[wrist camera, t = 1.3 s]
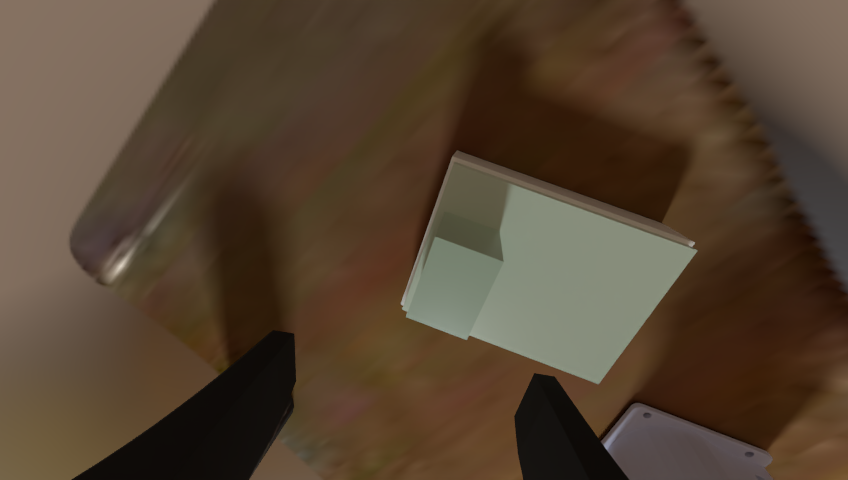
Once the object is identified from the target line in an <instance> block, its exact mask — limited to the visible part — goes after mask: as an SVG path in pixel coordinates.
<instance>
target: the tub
mask: <svg viewBox="0 0 848 480" xmlns="http://www.w3.org/2000/svg"><path fill="white" fill-rule="evenodd" d="M454 162H458V163H461V164H463V165H466V166H469V167H472V168H475V169H477V170H480V171H483V172H486V173H489V174H491V175H494V176H497V177H500V178H503V179H505V180H508V181H511V182H514V183H517V184H519V185H522V186H525V187H528V188H531V189H533V190H536V191H539V192H542V193H545V194H547V195H550V196H553V197H556V198H559V199H561V200H564V201H567V202H570V203H573V204H575V205H578V206H581V207H584V208H587V209H589V210H592V211H595V212H598V213H600V214H603V215H606V216H609V217H612V218H614V219H617V220H620V221H623V222H626V223H628V224H631V225H634V226H637V227H640V228H642V229H645V230H648V231H651V232H654V233H656V234H659V235H662V236H665V237H668V238H670V239H673V240H676V241H679V242H682V243H684V244H687V245H689V246H691V247H693V245H694V244H695V242H693V241H692V240H690V239H688V238H687V237H685V236H683V235H681V234H680V233H678V232H676V231H675V230H673V229H671V228H670V227H668V226H666V225H664V224H663V223H660V222H658V221H655V220H652V219H649V218H646V217H644V216H641V215H638V214H635V213H632V212H629V211H627V210H624V209H621V208H618V207H615V206H613V205H610V204H607V203H604V202H601V201H599V200H596V199H593V198H590V197H587V196H584V195H582V194H579V193H576V192H573V191H570V190H568V189H565V188H562V187H559V186H556V185H554V184H551V183H548V182H545V181H542V180H539V179H537V178H534V177H531V176H528V175H525V174H523V173H520V172H517V171H514V170H511V169H509V168H506V167H503V166H500V165H497V164H495V163H492V162H489V161H486V160H483V159H480V158H478V157H475V156H472V155H469V154H466V153H464V152H461V151H458V150H457V151H456V152H455V153H454V155H453V156H452V158H451V161H450V164H449V167H448V170H447V173H446V176H445V179H444V181H443V184H442V187H441V190H440V193H439V196H438V199H437V202H436V204H435V207H434V210H433V213H432V216H431V219H430V222H429V224H428V227H427V230H426V233H425V236H424V239H423V242H422V245H421V247H420V250H419V253H418V256H417V259H416V262H415V265H414V267H413V270H412V273H411V276H410V279H409V282H408V285H407V288H406V290H405V293H404V296H403V299H402V302H401V305H404V302H405V299H406V297H407V294H408V291H409V288H410V285H411V283H412V280H413V277H414V274H415V271H416V268H417V266H418V263H419V260H420V257H421V254H422V251H423V249H424V246H425V243H426V240H427V237H428V234H429V232H430V229H431V226H432V223H433V220H434V217H435V215H436V212H437V209H438V206H439V203H440V200H441V198H442V195H443V192H444V189H445V186H446V184H447V181H448V178H449V175H450V172H451V169H452V167H453V164H454Z"/></svg>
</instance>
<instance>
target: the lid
mask: <svg viewBox="0 0 848 480" xmlns="http://www.w3.org/2000/svg"><path fill="white" fill-rule="evenodd" d="M696 252H697V250H696V249H694V248H693V247H691V246H689V245H687V244H684V243H682V242H679V241H676V240H673V239H670V238H668V237H665V236H662V235H659V234H656V233H654V232H651V231H648V230H645V229H642V228H640V227H637V226H634V225H631V224H628V223H626V222H623V221H620V220H617V219H614V218H612V217H609V216H606V215H603V214H600V213H598V212H595V211H592V210H589V209H587V208H584V207H581V206H578V205H575V204H573V203H570V202H567V201H564V200H561V199H559V198H556V197H553V196H550V195H547V194H545V193H542V192H539V191H536V190H533V189H531V188H528V187H525V186H522V185H519V184H517V183H514V182H511V181H508V180H505V179H503V178H500V177H497V176H494V175H491V174H489V173H486V172H483V171H480V170H477V169H475V168H472V167H469V166H466V165H463V164H461V163H458V162H454V164H453V167H452V169H451V172H450V175H449V178H448V181H447V184H446V186H445V189H444V192H443V195H442V198H441V200H440V203H439V206H438V209H437V212H436V215H435V217H434V220H433V223H432V226H431V229H430V232H429V234H428V237H427V240H426V243H425V246H424V249H423V251H422V254H421V257H420V260H419V263H418V266H417V268H416V271H415V274H414V277H413V280H412V283H411V285H410V288H409V291H408V294H407V297H406V299H405V302H404V305H403V308H402V310H404V311H407V312H408V313H407V315H406V317H407V318H410V319H413V320H415V321H418V322H420V323H423V324H426V325H428V326H431V327H434V328H436V329H439V330H441V331H444V332H447V333H449V334H452V335H455V336H457V337H460V338H462V339H465V340H467V338H468V336H469V335H470V336H473V337H475V338H478V339H481V340H483V341H486V342H489V343H491V344H494V345H497V346H499V347H502V348H504V349H507V350H510V351H512V352H515V353H518V354H520V355H523V356H525V357H528V358H531V359H533V360H536V361H539V362H541V363H544V364H547V365H549V366H552V367H554V368H557V369H560V370H562V371H565V372H568V373H570V374H573V375H575V376H578V377H581V378H583V379H586V380H589V381H591V382H594V383H597V384H599V383H600V382H601V380H602V379H603V377H604V376H605V375H606V373H607V372H608V371H609V369H610V368H611V367H612V365H613V364H614V363H615V361H616V360H617V359H618V357H619V356H620V355H621V353H622V352H623V351H624V349H625V348H626V347H627V345H628V344H629V342H630V341H631V340H632V338H633V337H634V336H635V334H636V333H637V332H638V330H639V329H640V328H641V326H642V325H643V324H644V322H645V321H646V320H647V318H648V317H649V316H650V314H651V313H652V311H653V310H654V309H655V307H656V306H657V305H658V303H659V302H660V301H661V299H662V298H663V297H664V295H665V294H666V293H667V291H668V290H669V289H670V287H671V286H672V285H673V283H674V282H675V281H676V279H677V278H678V276H679V275H680V274H681V272H682V271H683V270H684V268H685V267H686V266H687V264H688V263H689V262H690V260H691V259H692V258H693V256H694V255H695V254H696Z"/></svg>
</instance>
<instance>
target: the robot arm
mask: <svg viewBox="0 0 848 480" xmlns="http://www.w3.org/2000/svg"><path fill="white" fill-rule="evenodd" d="M295 382H296V369H295V342H294V334H293V333H287V332H280V331H274V330H273V331H272V332H270V333H269V334H268V335H267V336H266V337H264V338H263V339H262V340H261V341H260V342H259V343H257V344H256V345H255V346H254V347H253V348H252V349H250V350H249V351H248V352H247V353H246V354H245V355H243V356H242V357H241V358H240V359H239V360H237V361H236V362H235V363H234V364H233V365H231V366H230V367H229V368H228V369H227V370H225V371H224V372H223V373H222V374H220V375H219V376H218V377H217V378H216V379H214V380H213V381H212V382H210V383H209V384H208V385H207V386H205V387H204V388H203V389H202V390H200V391H199V392H198V393H196V394H195V395H194V396H193V397H191V398H190V399H188V400H187V401H186V402H184V403H183V404H182V405H181V406H179V407H178V408H176V409H175V410H174V411H172V412H171V413H170V414H168V415H167V416H166V417H164V418H163V419H162V420H160V421H159V422H158V423H156V424H155V425H154V426H152V427H151V428H149V429H148V430H146V431H145V432H143V433H142V434H141V435H139V436H138V437H136V438H135V439H133V440H132V441H130V442H129V443H127V444H126V445H124V446H123V447H121V448H120V449H118V450H117V451H115V452H114V453H112V454H111V455H109V456H108V457H107V458H105V459H103V460H102V461H100V462H99V463H97V464H96V465H94V466H92V467H91V468H89V469H88V470H86V471H84V472H83V473H81V474H80V475H78V476H76V477H75V478H74V479H72V480H249V478H250V476H251V475H252V473H253V471H254V469H255V467H256V465H257V463H258V461H259V459H260V457H261V456H262V454H263V452H264V450H265V448H266V446H267V444H268V442H269V440H270V438H271V436H272V434H273V433H274V431H275V429H276V427H277V425H278V423H279V421H280V419H281V417H282V415H283V412H284V410H285V407H286V405H287V402H288V400H289V397H290V395H291V392H292V390H293V387H294V385H295ZM644 413H645V414H644ZM514 417H515V428H516V439H517V447H518V455H519V460H520V465H521V470H522V475H523V480H774V479H773V478H772V477H771V476H770V474H769V473H768V472H767V471H766V469H765V467H766V466H767V465H769V464H770V463H771V462H772V459H773V458H772V457H771V455H770V454H769V453H768V452H767V451H765V450H762V449H760V448H757V447H755V446H752V445H749V444H747V443H744V442H741V441H739V440H736V439H734V438H731V437H728V436H726V435H723V434H720V433H718V432H715V431H712V430H710V429H707V428H705V427H702V426H699V425H697V424H694V423H691V422H689V421H686V420H684V419H681V418H678V417H676V416H673V415H670V414H668V413H665V412H663V411H660V410H657V409H655V408H652V407H649V406H647V405H644V404H641V403H634V404H632V405H631V406H630V407H629V408H628V410H627V411H626V412H625V413H624V414H623V416H622V417H621V418H620V419H619V421H618V422H617V423H616V424H615V425H614V427H613V428H612V429H611V430H610V431H609V433H608V434H607V435H606V436H605V437H604V439H603V440H602V441H600V440H599V439H598V437H597V436H596V435H595V433H594V432H593V430H592V429H591V428H590V426H589V425H588V423H587V422H586V421H585V419H584V418H583V416H582V415H581V414H580V412H579V411H578V409H577V408H576V406H575V405H574V404H573V402H572V401H571V399H570V398H569V396H568V395H567V394H566V392H565V391H564V389H563V388H562V386H561V385H560V384H559V382H558V381H557V379H556V378H555V377H554V376H548V375H542V374H536V373H534V375H533V377H532V380H531V382H530V384H529V386H528V388H527V390H526V392H525V395H524V397H523V399H522V401H521V403H520V405H519V408H518V410H517V412H516V414H515V416H514Z"/></svg>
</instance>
